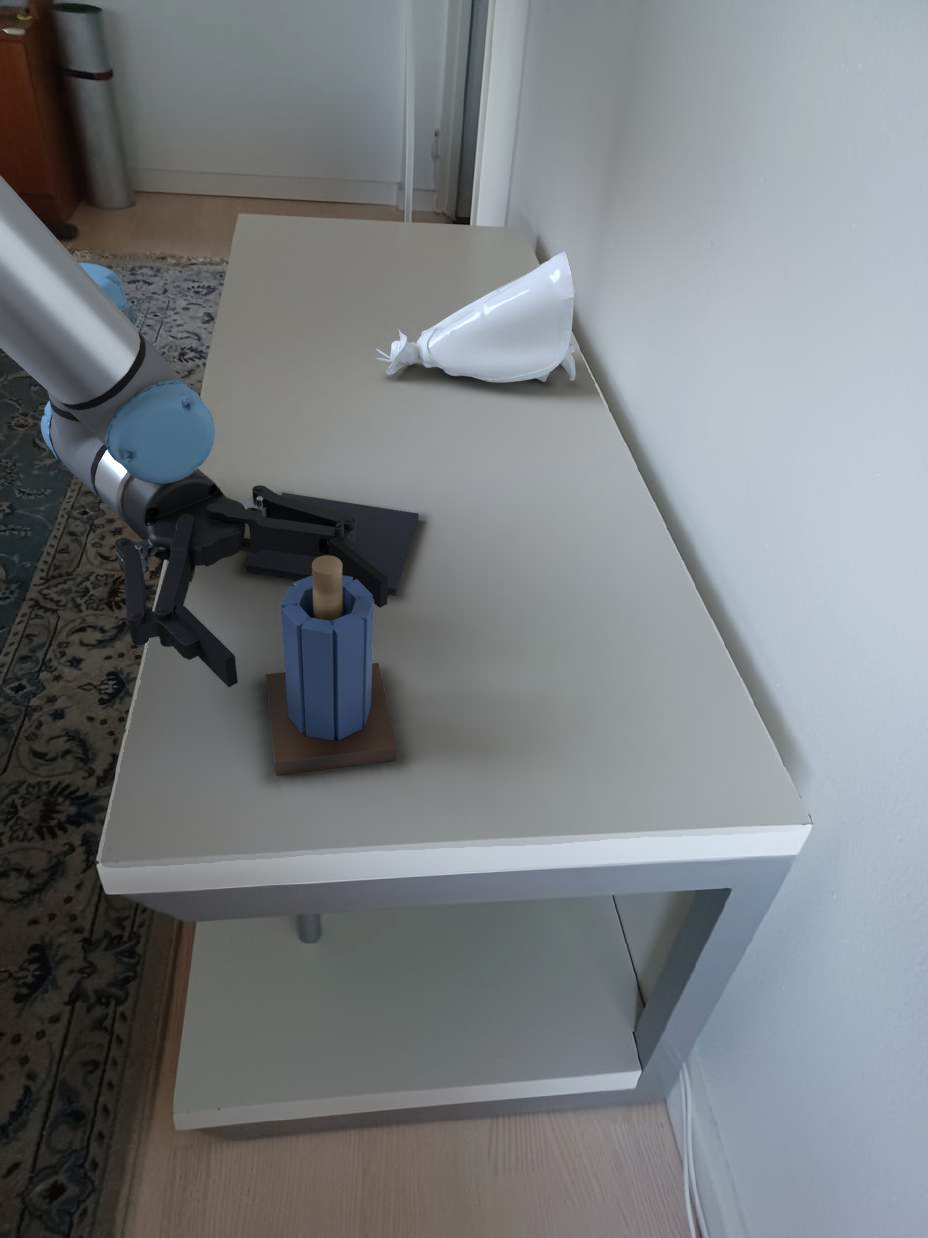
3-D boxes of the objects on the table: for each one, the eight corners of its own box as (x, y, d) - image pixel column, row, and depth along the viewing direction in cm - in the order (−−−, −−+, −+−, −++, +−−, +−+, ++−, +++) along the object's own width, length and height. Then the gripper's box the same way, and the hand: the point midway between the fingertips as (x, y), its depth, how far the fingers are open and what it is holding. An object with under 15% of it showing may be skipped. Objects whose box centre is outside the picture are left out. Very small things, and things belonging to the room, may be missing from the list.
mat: (244, 571, 82) (244, 564, 82) (282, 498, 91) (282, 492, 91) (395, 595, 82) (395, 588, 81) (418, 519, 91) (419, 513, 90)
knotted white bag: (559, 363, 122) (373, 361, 119) (571, 237, 114) (372, 232, 110) (582, 396, 111) (378, 395, 108) (598, 259, 102) (377, 254, 99)
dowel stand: (275, 775, 66) (262, 615, 55) (266, 686, 72) (253, 528, 62) (397, 760, 68) (406, 603, 57) (378, 675, 74) (383, 519, 64)
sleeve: (280, 732, 67) (271, 623, 60) (302, 675, 71) (296, 567, 64) (359, 745, 67) (361, 637, 59) (376, 687, 71) (379, 580, 64)
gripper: (286, 484, 86) (435, 600, 75) (26, 587, 72) (164, 747, 62) (282, 414, 81) (441, 527, 70) (2, 510, 67) (148, 670, 57)
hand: (312, 630), depth 66 cm, fingers open, 13 cm apart
